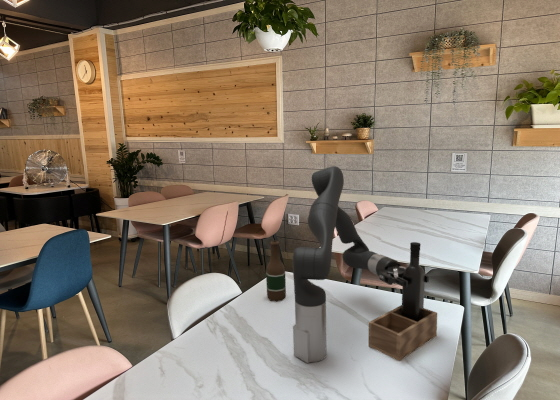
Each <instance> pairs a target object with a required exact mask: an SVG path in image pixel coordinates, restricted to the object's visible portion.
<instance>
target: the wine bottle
mask: <svg viewBox="0 0 560 400" xmlns="http://www.w3.org/2000/svg"><path fill="white" fill-rule="evenodd" d="M409 249H410V252H409V253H410V255H409V257H410V258H409V259H410V260H409V264H408V265H407V266H406V267H405V268H406V269H405V270H404V273H403V279H405V280H407V281H408V287H406V288H405V287H403V286H401V287H402V291H401V305H402V312H401V316H403V317H406V318H409V319H411V320H414V321H416V322H418V321H420V320H422V319H423V308H424V305H425V304H424V301H425V286H426V285H425V284H426V282H425V275H426V272H425V270H424V269H423V267H422V266H421V265H420V254H421V242H417V241H416V242H415V241H412V242H410V246H409Z"/></svg>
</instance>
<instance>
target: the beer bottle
mask: <svg viewBox="0 0 560 400" xmlns="http://www.w3.org/2000/svg"><path fill="white" fill-rule="evenodd" d="M269 245H270V257H269V258H270V260H269V262H268V263H267V266H266V271H265V275H266V277H265V278H266V280H265V281H266V297H267V299H268V300H269V301H270V302H275V303H276V302H282V301H284V300H285V298H286V297H287V286H286V284H287V283H286V281H287V280H286V267H285V265H284V263H283V261H282V260H281V254H280V242H279V241H278V240H271V241H270V244H269Z"/></svg>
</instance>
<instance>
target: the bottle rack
mask: <svg viewBox="0 0 560 400" xmlns="http://www.w3.org/2000/svg"><path fill="white" fill-rule="evenodd" d="M401 312H402V304H400V305H399V306H397V307H395V308H393V309H391V310H389V311H388V312H385V313H384V314H382V315H379V316H378V317H376V318H374V319H372V320H370V321H368V347H369V348H372V349H374V350H375V351H378V352H380V353H382V354H384V355H386V356H387V357H390V358H392V359H394V360H396V361H399V362H400V361H402V360H403V359H405V358H406V357H408V356H410V354H412V353H413V352H415V351H417V350H418V349H420V348H421V347H422V346H424V345H426V344H427V343H429V342H430V341H431V340H433V339H434V338H437V334H438V333H437V331H438V312H436V311H433V310H430V309H428V308H426V307H423V319H422V320H420V321H418V322H416V321H414V320H411V319H409V318H406V317H403V316H401Z"/></svg>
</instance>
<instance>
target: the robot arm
mask: <svg viewBox="0 0 560 400" xmlns="http://www.w3.org/2000/svg"><path fill="white" fill-rule="evenodd" d="M344 179H345V178H344V174H343V171H342V169H341V168H340V167H338V166H334V165H333V166H330V167H329V166H328V167H326V168H323V169H320V170H317V171H315V172H313V173H312V175H311V183H312V187H313V189H314V191H315V193H316V195H317V198H316V199H315V200H314V201H313V202H312V204H311V206H310V209H309V213H308V216H307V225H308V228H309V230H310V231H311V233H312V234H313V236H314V237H315V238H316V239H317V241H318V243H319V246H320V247H309V246H308V247H306V246H305V247H303V246H298V247H296V248H295V249H294V251H293V254H292V263H291V264H292V277H293V291H294V293H293V294H294V308H295V309H294V314H295V315H294V316H295V317H294V319H295V321H294V322H295V324H294V325H293V326H292V336H293V340H292V341H293V356H295V357H297V358H298V359H299V360H301V361H303V362H305V363H306V364H309V363H316V362H319V361H323V360H324V359H325V358H326V357H327V355H328V354H327V353H328V351H327V349H328V348H327V347H328V345H327V293H326V291H325V289H324V288H322V287H320V286H318V285H316V284H314V283H313V282H311V280H314V281H324V280H325V281H326V279H328V278H329V275H330V273H331V268H332V267H331V266H332V265H331V264H332V255H333V254H332V253H333V241H334V236H335V235H334V234H335V231H336V233H337V234H338V238H339V240H340V242H341V243H342V244H346V245H347V244H351V243H353V245H352V246H350V247H348V248H347V249H345V250H344V251H343V252H342V256H341V257H342V260H343V262H344V263H345V264H346V265H347V266H348V267H350V268H353V269H359V270H361V269H362V270H365V271H369V272H371V274H374V275H375V276H377V277H379V280H381V282H384V283H385V284H387V285H390V286H391V285H393V284H394V285H399V286H400V287H405V288H406V287H408V281H407V280H405V279H403V273H404V270H405V269H406V268H407V267H405V266H402V265H401V264H400V262H399V261H398V260H396V259H394V258H391V257H388V256H386V255H384V254H379V253H377V252H374V251H372V250H370V249H369V247H368V246H367V244H366V243H365V242H364V241H363V239H362V238H361V236H360V235H359V233H358V232H357V229H356V226H355V223H354V221H353V219H352V218H351V216H350V215H349V214H348V213H347V212H345V210H343V209H342V208H341V207H340V206H339V203H340V199H341V195H342V192H343V189H344V184H345V180H344ZM429 280H430V276H429V275H427V274H425V284H426V283H430V282H429Z"/></svg>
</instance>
